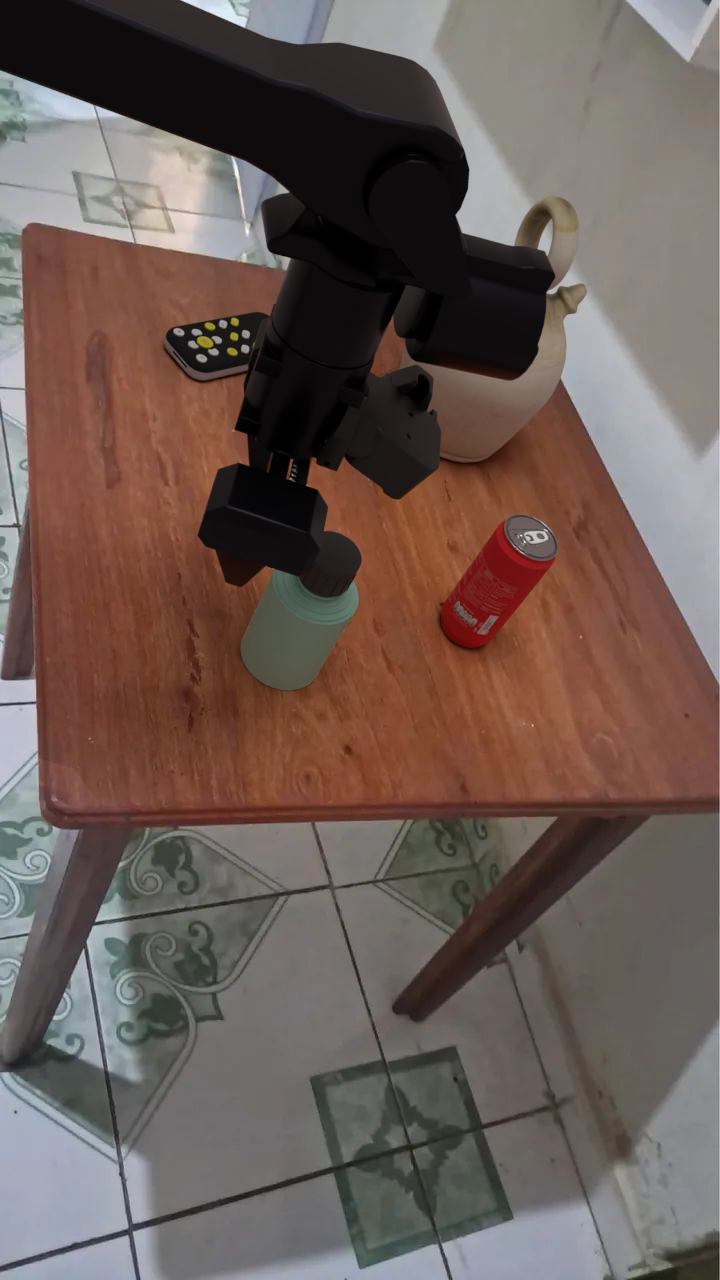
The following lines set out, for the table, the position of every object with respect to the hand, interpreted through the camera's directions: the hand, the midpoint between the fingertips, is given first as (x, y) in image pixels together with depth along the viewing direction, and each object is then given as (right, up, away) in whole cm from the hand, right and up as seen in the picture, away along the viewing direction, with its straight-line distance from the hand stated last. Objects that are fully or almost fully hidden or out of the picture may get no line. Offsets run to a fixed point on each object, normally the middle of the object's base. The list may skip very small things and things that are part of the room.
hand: (247, 531), depth 61 cm
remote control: (-6, +21, +32) cm, 39 cm away
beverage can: (+16, -6, +22) cm, 28 cm away
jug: (+16, +16, +38) cm, 44 cm away
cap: (+5, -1, +4) cm, 7 cm away
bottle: (+1, -8, +12) cm, 15 cm away
